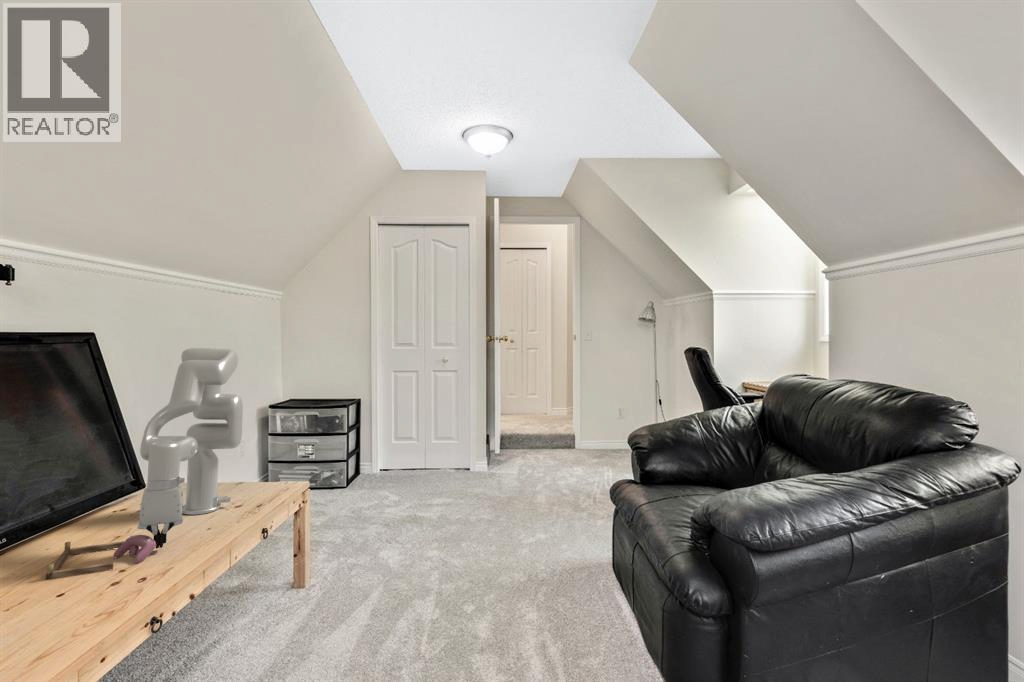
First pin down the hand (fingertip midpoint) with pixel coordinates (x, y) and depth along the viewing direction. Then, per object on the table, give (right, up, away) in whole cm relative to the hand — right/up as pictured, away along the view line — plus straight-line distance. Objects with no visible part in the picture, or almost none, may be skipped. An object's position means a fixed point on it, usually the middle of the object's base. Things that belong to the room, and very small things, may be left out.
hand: (159, 546), depth 140 cm
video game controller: (-4, -2, -4) cm, 6 cm away
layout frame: (-13, -1, -8) cm, 15 cm away
